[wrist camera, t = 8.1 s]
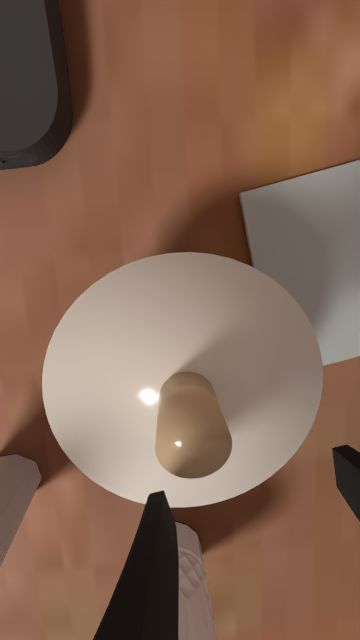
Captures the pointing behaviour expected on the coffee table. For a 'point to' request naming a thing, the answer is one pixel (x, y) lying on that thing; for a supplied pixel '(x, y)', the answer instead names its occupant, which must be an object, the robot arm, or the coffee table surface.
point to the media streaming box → (32, 83)
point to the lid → (182, 379)
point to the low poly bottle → (15, 495)
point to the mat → (313, 250)
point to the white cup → (193, 589)
